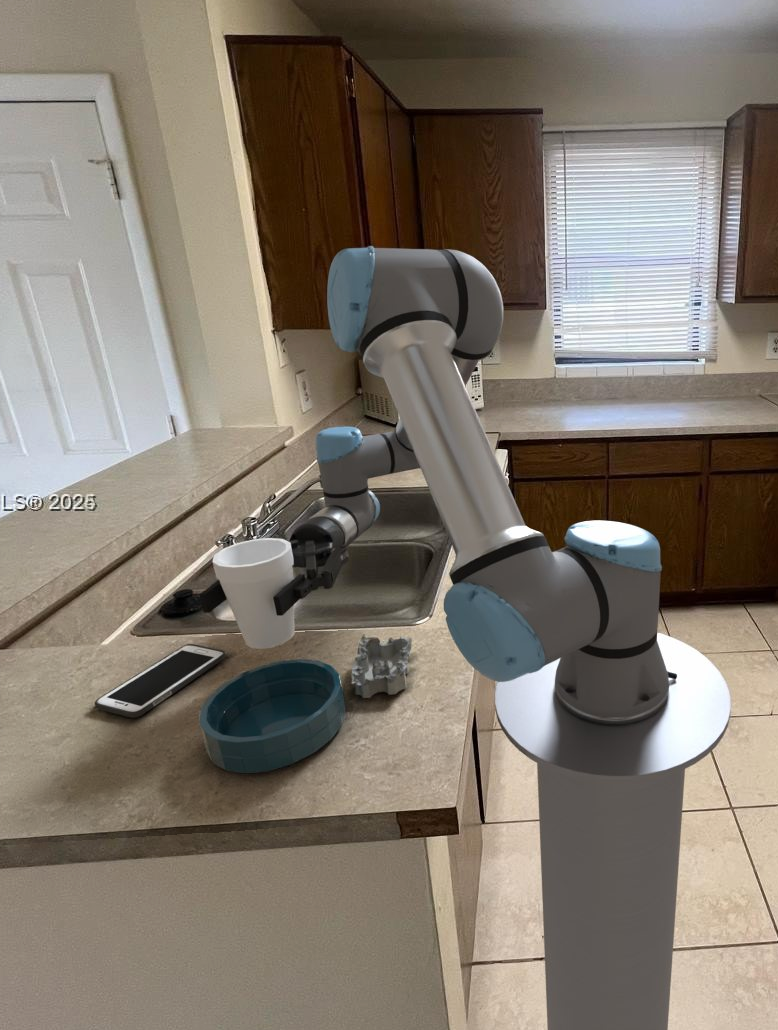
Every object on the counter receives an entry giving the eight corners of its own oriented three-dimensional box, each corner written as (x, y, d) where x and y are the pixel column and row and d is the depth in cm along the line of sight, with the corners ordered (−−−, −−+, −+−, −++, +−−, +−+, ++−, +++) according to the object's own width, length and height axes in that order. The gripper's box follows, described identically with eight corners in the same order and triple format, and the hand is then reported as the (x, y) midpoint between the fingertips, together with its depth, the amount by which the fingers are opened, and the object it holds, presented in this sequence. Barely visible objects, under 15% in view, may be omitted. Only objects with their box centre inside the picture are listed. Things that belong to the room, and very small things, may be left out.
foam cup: (223, 659, 80) (201, 570, 76) (244, 623, 89) (225, 541, 85) (299, 650, 82) (282, 562, 78) (312, 615, 91) (298, 535, 86)
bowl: (368, 696, 82) (363, 665, 80) (299, 785, 68) (291, 749, 66) (264, 684, 85) (257, 654, 83) (176, 767, 70) (166, 732, 69)
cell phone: (229, 656, 91) (228, 651, 91) (136, 720, 78) (134, 714, 77) (189, 648, 93) (188, 642, 93) (92, 708, 80) (90, 702, 80)
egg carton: (364, 655, 91) (361, 632, 90) (416, 652, 92) (413, 628, 91) (348, 701, 81) (344, 675, 80) (406, 696, 82) (402, 670, 81)
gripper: (391, 559, 100) (326, 633, 79) (264, 556, 102) (168, 626, 81) (385, 517, 98) (317, 581, 77) (255, 514, 100) (154, 576, 79)
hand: (240, 604), depth 79 cm, fingers closed on foam cup, 9 cm apart
